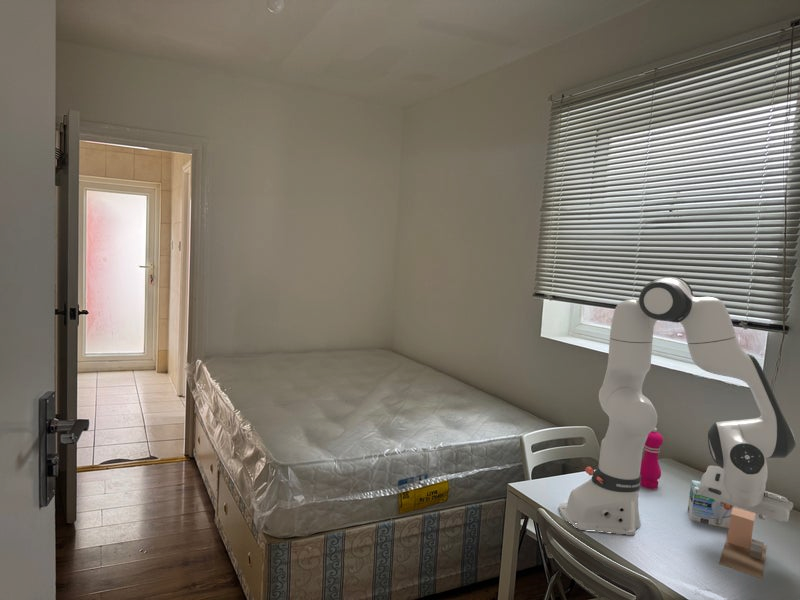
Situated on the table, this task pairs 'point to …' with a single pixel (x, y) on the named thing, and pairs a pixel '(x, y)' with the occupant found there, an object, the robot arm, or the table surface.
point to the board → (745, 557)
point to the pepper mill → (651, 461)
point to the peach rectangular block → (741, 527)
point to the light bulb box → (707, 508)
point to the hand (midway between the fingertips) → (741, 510)
